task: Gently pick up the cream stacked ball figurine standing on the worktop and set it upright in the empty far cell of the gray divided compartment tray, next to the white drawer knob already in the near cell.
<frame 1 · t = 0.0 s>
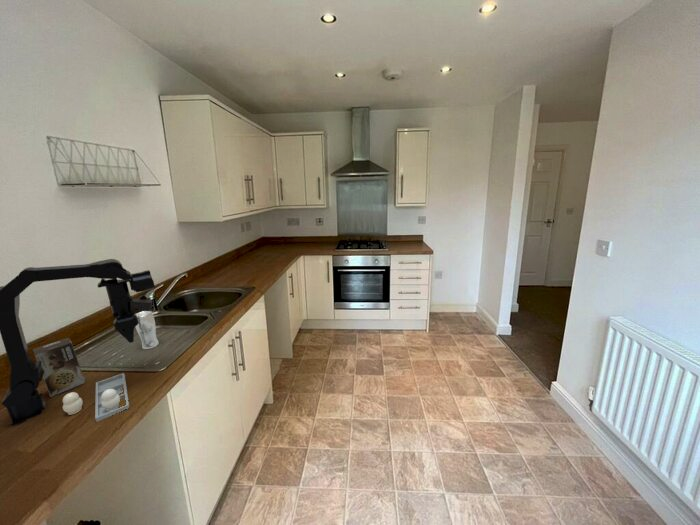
hand: (130, 337, 103), 15 cm above the worktop, tool pointing down, fingers open, 9 cm apart
coffee box: (67, 387, 101), on the worktop
white drawer knob: (112, 408, 89), resting on gray divided compartment tray
gray divided compartment tray: (112, 397, 94), on the worktop
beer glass: (150, 345, 126), on the worktop
cream stacked ball figurine: (75, 411, 89), on the worktop
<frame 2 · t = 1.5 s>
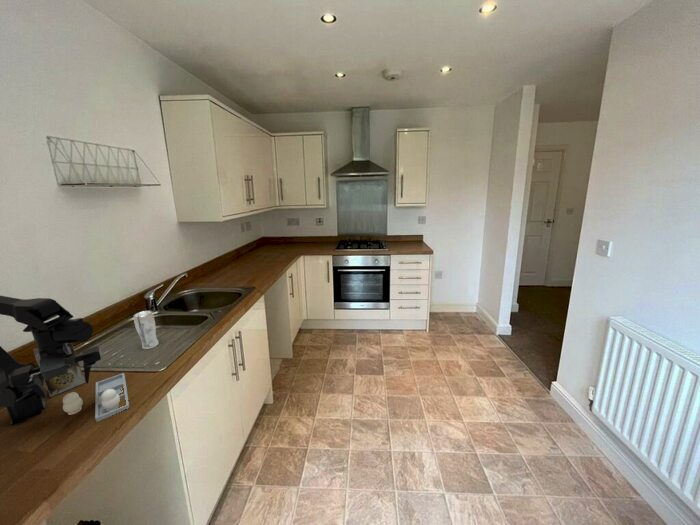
hand: (67, 389, 87), 8 cm above the worktop, tool pointing down, fingers open, 9 cm apart
nothing on the worktop moved.
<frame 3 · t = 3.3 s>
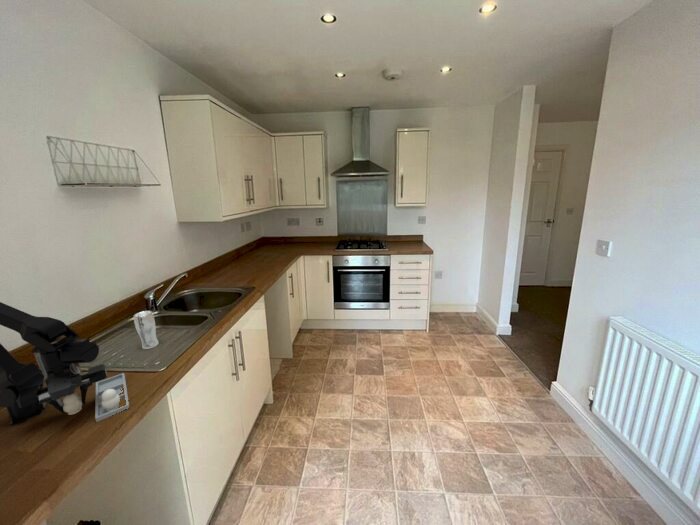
hand: (74, 408, 88), 1 cm above the worktop, tool pointing down, fingers closed on cream stacked ball figurine, 4 cm apart
cream stacked ball figurine: (75, 411, 89), on the worktop, touching gripper
everything else where it was.
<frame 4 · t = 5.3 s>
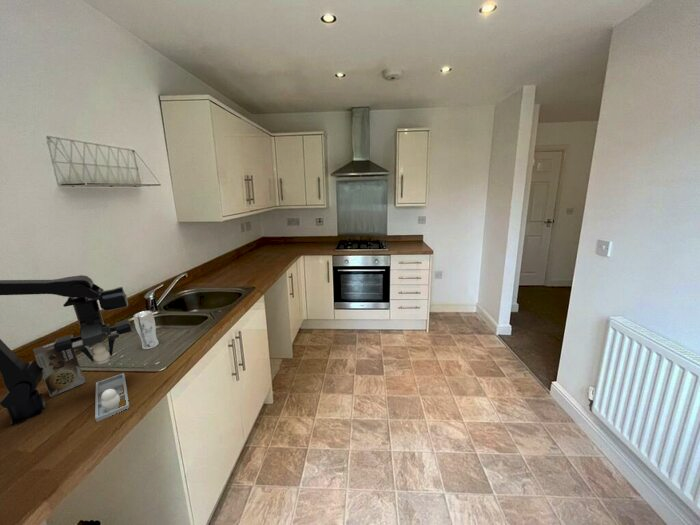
hand: (102, 357, 97), 11 cm above the worktop, tool pointing down, fingers closed on cream stacked ball figurine, 4 cm apart
cream stacked ball figurine: (103, 361, 97), point 10 cm above the worktop, touching gripper
everything else where it was.
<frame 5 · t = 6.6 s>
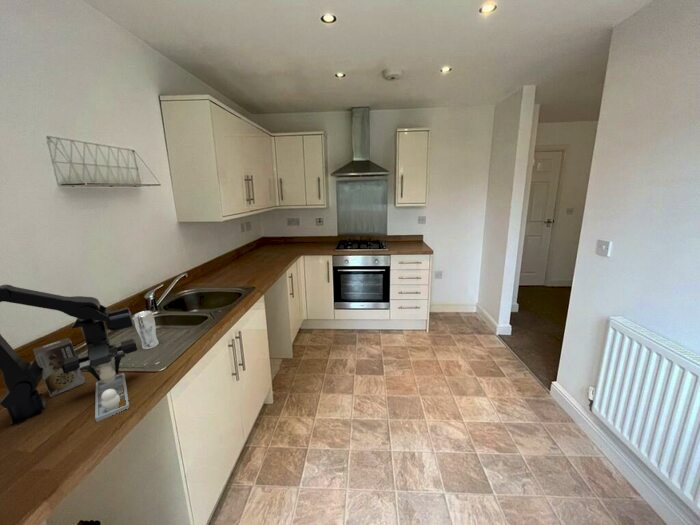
hand: (108, 376, 99), 4 cm above the worktop, tool pointing down, fingers closed on cream stacked ball figurine, 4 cm apart
cream stacked ball figurine: (109, 380, 99), point 3 cm above the worktop, touching gripper
everything else where it was.
when the fingers open (3 cm above the worktop, at t = 7.6 s): cream stacked ball figurine drops 1 cm, resting on gray divided compartment tray.
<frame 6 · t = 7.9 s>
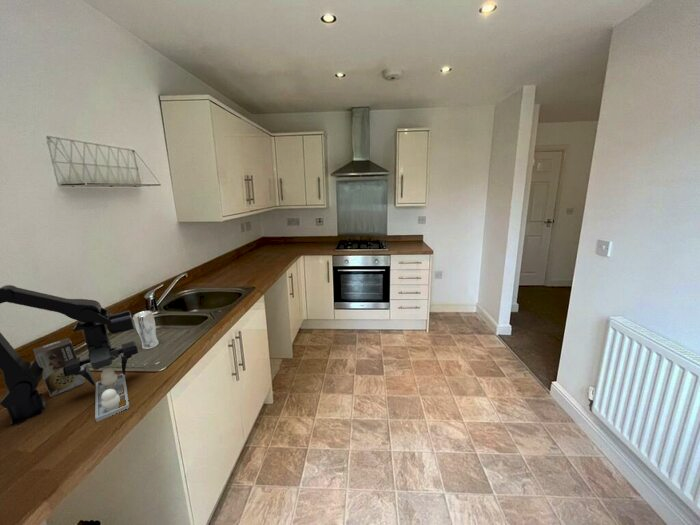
hand: (109, 379, 99), 3 cm above the worktop, tool pointing down, fingers open, 8 cm apart
cream stacked ball figurine: (111, 385, 100), resting on gray divided compartment tray
everything else where it was.
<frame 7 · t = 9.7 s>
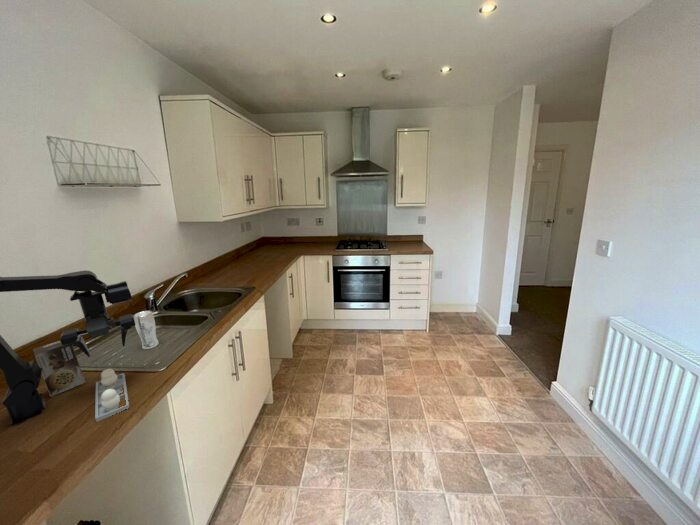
hand: (107, 351, 99), 12 cm above the worktop, tool pointing down, fingers open, 9 cm apart
nothing on the worktop moved.
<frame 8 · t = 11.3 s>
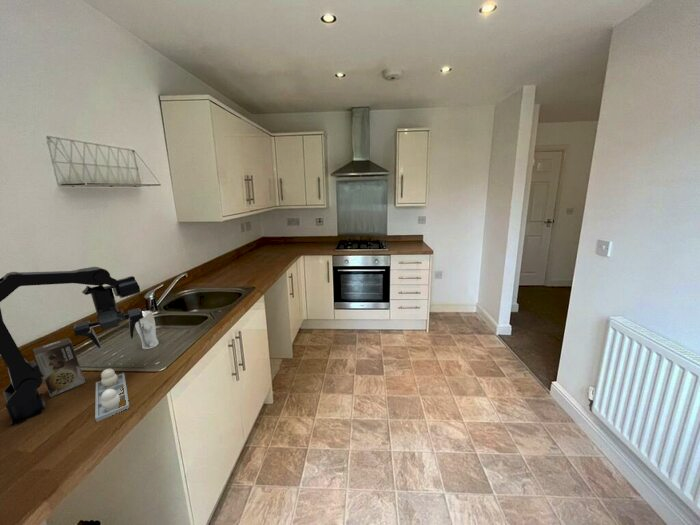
hand: (116, 342, 105), 12 cm above the worktop, tool pointing down, fingers open, 9 cm apart
nothing on the worktop moved.
at the end: cream stacked ball figurine 0.1 cm from the target spot on the gray divided compartment tray, point 0.3 cm above the gray divided compartment tray's base; cream stacked ball figurine tilted 1°; the gripper is holding nothing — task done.
